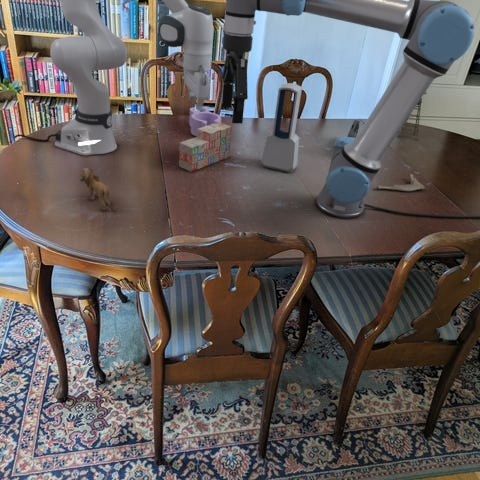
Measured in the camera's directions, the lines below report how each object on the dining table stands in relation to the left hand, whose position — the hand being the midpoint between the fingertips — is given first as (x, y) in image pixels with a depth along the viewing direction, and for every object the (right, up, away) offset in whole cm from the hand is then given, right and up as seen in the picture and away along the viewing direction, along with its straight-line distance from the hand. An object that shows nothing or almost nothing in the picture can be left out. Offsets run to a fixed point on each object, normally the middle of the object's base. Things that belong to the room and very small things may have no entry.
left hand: (195, 105), depth 156 cm
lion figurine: (-28, -34, -15) cm, 46 cm away
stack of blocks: (+2, -16, +17) cm, 24 cm away
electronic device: (+29, -18, +19) cm, 39 cm away
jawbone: (+72, -25, +16) cm, 78 cm away
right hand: (+12, -10, -24) cm, 29 cm away
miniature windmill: (+94, +4, +64) cm, 114 cm away
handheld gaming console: (+61, -7, +41) cm, 74 cm away
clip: (-1, +2, +44) cm, 44 cm away
